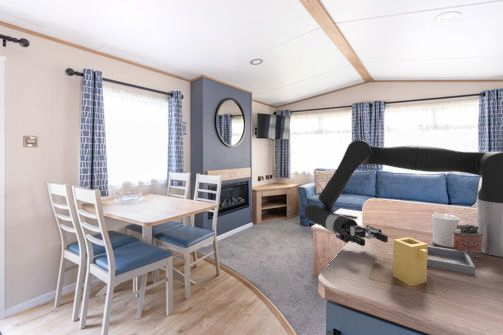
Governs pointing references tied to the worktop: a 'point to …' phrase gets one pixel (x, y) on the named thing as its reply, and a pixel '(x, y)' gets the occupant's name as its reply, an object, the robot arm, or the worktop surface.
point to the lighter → (468, 240)
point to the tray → (451, 260)
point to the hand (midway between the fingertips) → (375, 241)
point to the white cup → (444, 229)
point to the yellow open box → (410, 261)
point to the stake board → (386, 275)
